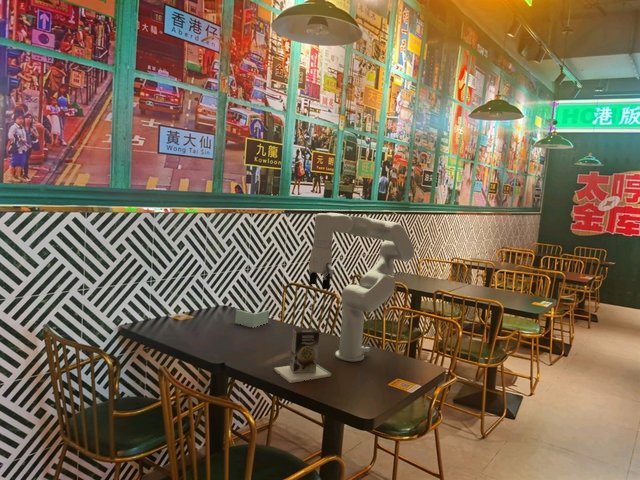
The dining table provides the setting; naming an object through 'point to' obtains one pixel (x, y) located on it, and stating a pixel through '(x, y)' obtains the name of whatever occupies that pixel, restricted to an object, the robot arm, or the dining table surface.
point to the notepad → (301, 374)
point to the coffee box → (304, 350)
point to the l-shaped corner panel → (251, 318)
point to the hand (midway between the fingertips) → (319, 286)
